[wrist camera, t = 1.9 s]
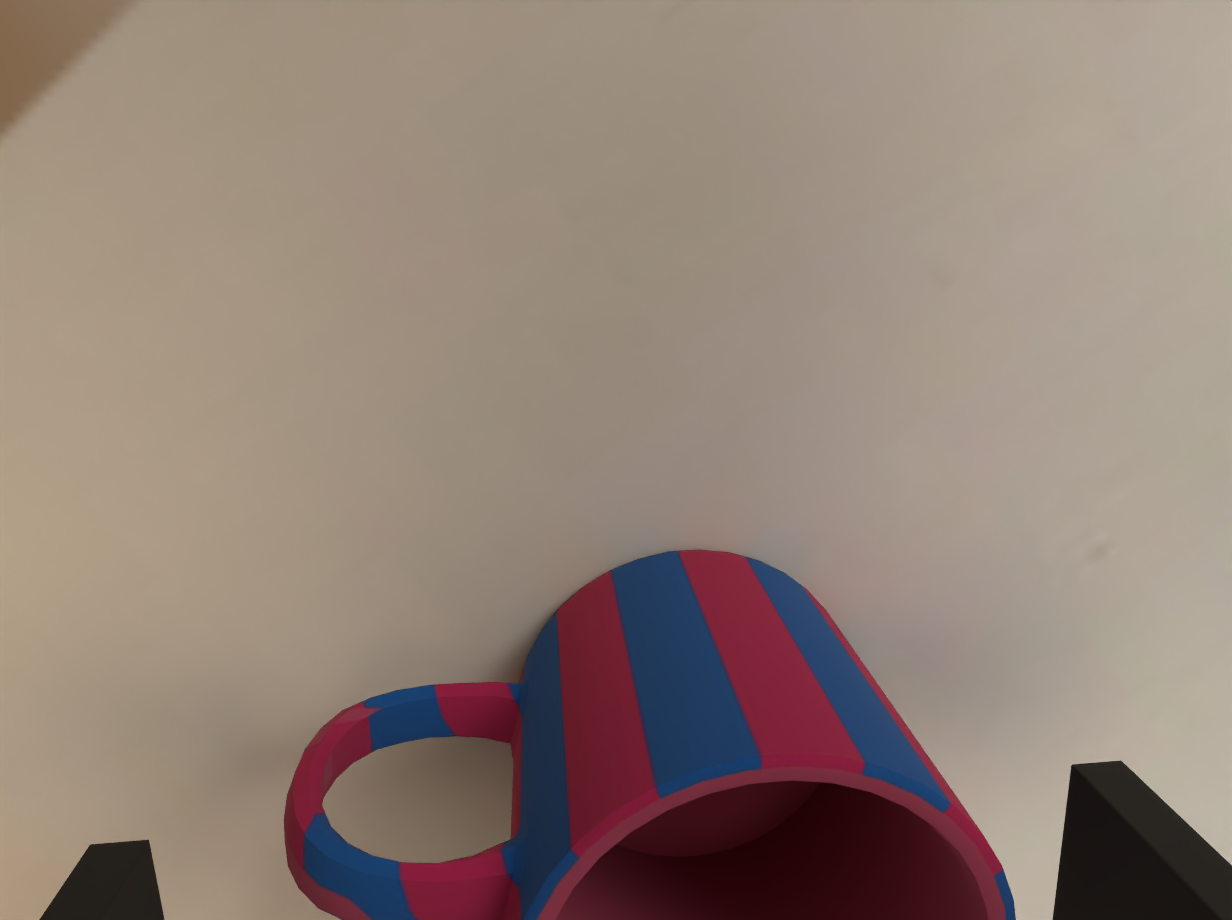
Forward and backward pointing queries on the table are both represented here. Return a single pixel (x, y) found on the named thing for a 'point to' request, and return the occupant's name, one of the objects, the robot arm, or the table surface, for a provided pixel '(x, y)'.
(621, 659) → the mug
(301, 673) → the table surface
